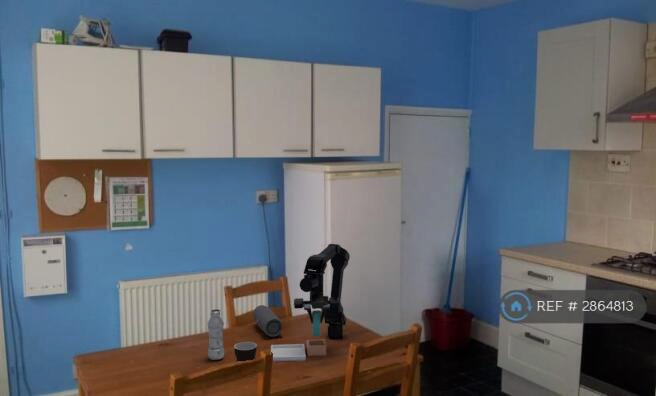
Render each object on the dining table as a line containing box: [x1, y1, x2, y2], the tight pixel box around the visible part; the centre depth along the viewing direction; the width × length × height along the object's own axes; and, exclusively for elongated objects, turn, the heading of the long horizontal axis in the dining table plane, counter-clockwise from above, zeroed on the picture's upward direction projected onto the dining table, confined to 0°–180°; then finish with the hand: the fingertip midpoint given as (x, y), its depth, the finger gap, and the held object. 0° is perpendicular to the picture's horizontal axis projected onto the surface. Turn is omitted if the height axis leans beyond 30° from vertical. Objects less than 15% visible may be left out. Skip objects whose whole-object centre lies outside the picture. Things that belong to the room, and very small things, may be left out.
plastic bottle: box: [207, 308, 225, 361], centre depth 219 cm, size 6×7×20 cm
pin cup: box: [306, 339, 327, 357], centre depth 227 cm, size 8×8×4 cm
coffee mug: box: [233, 341, 258, 363], centre depth 209 cm, size 12×9×10 cm
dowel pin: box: [311, 309, 322, 337], centre depth 226 cm, size 3×3×10 cm
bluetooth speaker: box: [252, 304, 283, 338], centre depth 253 cm, size 23×9×10 cm, turn 21°
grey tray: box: [270, 343, 307, 363], centre depth 224 cm, size 14×14×2 cm
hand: (316, 323), depth 226 cm, fingers closed on dowel pin, 3 cm apart
